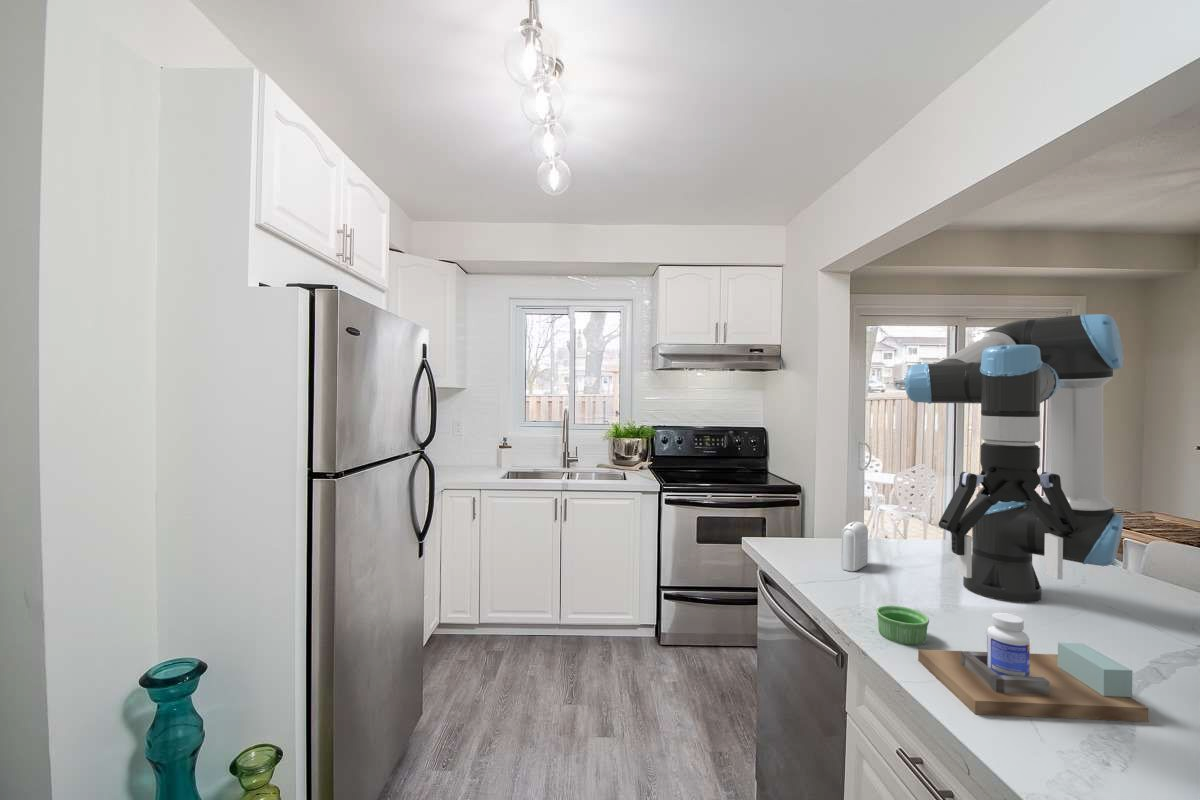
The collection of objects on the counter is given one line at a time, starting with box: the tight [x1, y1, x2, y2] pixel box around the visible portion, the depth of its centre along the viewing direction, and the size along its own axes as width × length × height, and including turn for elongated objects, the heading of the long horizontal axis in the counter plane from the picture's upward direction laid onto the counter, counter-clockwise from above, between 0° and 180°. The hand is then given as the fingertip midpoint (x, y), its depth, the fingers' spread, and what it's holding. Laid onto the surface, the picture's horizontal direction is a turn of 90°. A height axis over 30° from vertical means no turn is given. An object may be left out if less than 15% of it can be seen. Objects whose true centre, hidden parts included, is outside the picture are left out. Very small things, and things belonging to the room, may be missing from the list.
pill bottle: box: [986, 612, 1031, 677], centre depth 86 cm, size 5×5×10 cm
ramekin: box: [876, 605, 930, 646], centre depth 105 cm, size 9×9×4 cm
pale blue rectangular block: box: [1057, 642, 1133, 698], centre depth 85 cm, size 4×9×4 cm, turn 176°
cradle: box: [917, 649, 1150, 723], centre depth 86 cm, size 24×16×4 cm, turn 86°
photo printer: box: [840, 521, 869, 572], centre depth 147 cm, size 10×4×12 cm, turn 134°
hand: (1008, 575), depth 86 cm, fingers open, 13 cm apart
